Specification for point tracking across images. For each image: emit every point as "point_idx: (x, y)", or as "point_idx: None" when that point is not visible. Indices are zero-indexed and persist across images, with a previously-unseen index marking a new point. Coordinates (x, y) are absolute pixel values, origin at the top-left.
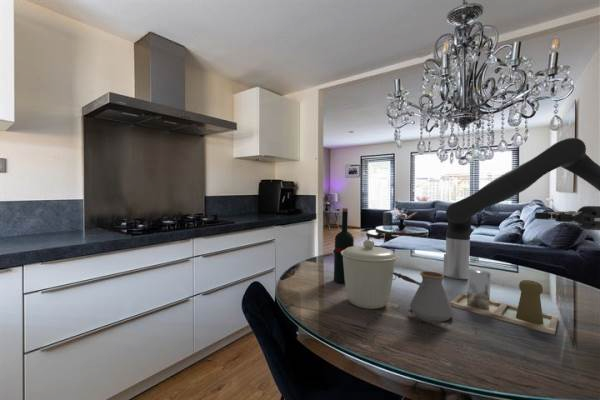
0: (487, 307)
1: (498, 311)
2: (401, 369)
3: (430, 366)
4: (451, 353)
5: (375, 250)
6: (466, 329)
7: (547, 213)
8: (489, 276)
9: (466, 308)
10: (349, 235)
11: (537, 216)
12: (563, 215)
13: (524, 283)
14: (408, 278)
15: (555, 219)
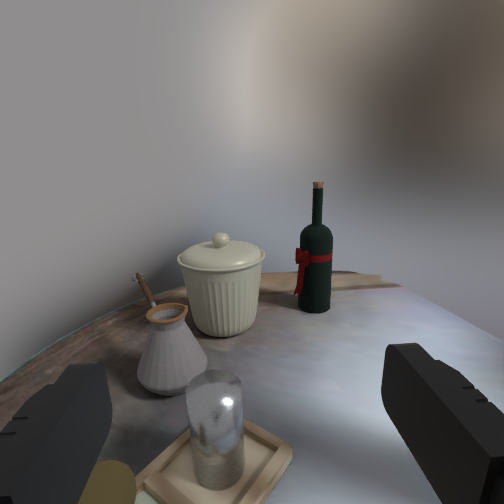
0: (195, 474)
1: (161, 485)
2: (59, 339)
3: (52, 357)
4: None
5: (207, 250)
6: (124, 415)
7: (476, 451)
8: (190, 408)
9: None
10: (308, 231)
11: (388, 384)
12: (43, 415)
13: (101, 461)
14: (143, 291)
15: (109, 403)
